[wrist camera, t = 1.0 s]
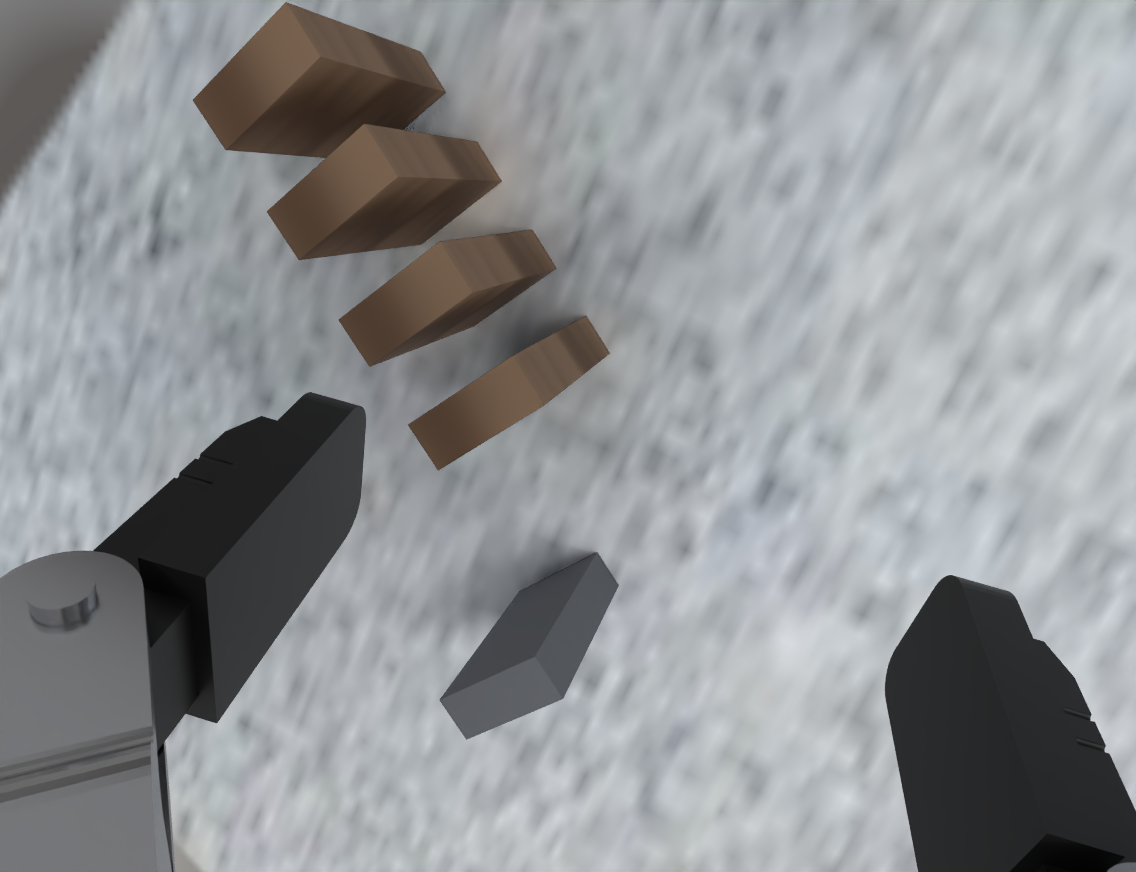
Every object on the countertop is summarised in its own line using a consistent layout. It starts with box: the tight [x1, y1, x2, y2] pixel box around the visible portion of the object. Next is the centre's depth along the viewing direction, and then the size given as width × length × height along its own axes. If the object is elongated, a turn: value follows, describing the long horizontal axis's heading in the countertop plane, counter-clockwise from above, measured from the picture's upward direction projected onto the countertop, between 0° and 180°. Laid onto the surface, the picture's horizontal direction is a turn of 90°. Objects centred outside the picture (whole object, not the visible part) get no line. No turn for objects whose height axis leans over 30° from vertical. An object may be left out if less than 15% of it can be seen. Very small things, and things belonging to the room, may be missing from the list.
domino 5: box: [440, 553, 619, 740], centre depth 35 cm, size 5×2×10 cm, turn 125°
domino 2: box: [267, 124, 502, 260], centre depth 31 cm, size 5×2×10 cm, turn 125°
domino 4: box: [408, 316, 610, 470], centre depth 32 cm, size 5×2×10 cm, turn 125°
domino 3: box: [339, 230, 556, 367], centre depth 31 cm, size 5×2×10 cm, turn 125°
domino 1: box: [193, 2, 446, 158], centre depth 31 cm, size 5×2×10 cm, turn 125°
